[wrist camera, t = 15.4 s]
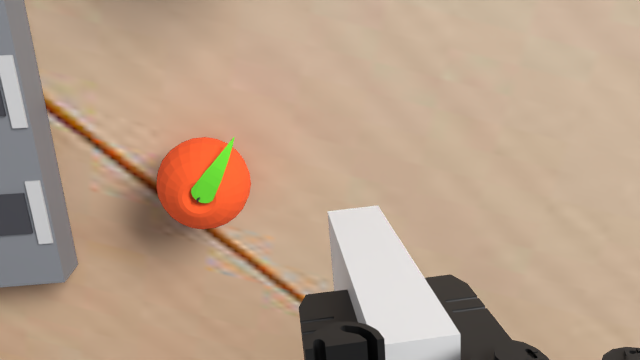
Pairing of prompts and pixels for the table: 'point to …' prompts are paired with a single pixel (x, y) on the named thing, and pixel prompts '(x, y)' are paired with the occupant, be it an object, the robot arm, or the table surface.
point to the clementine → (203, 183)
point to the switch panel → (28, 167)
